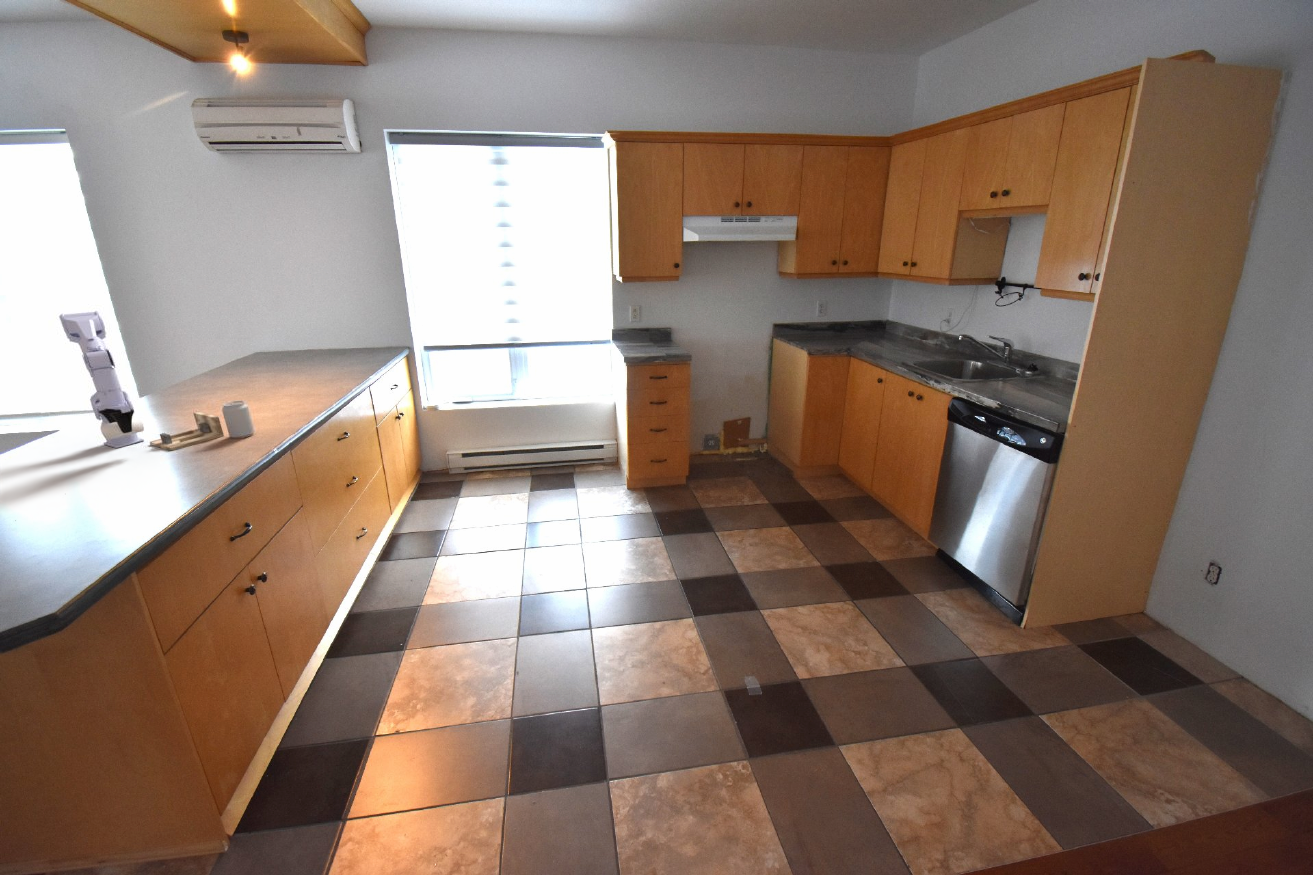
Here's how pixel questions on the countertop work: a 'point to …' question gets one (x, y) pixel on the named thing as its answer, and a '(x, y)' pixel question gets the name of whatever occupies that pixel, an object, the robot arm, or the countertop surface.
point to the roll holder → (192, 433)
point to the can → (238, 419)
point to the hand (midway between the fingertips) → (123, 431)
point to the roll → (114, 430)
